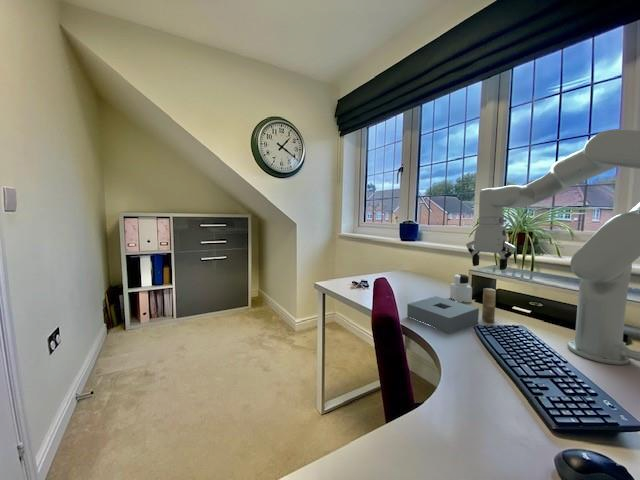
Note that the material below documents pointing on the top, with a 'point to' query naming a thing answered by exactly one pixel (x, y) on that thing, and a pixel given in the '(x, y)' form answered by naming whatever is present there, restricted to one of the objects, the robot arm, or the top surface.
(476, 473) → the top surface
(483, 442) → the top surface
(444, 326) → the hole block
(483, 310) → the oak pin
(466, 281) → the medicine bottle
